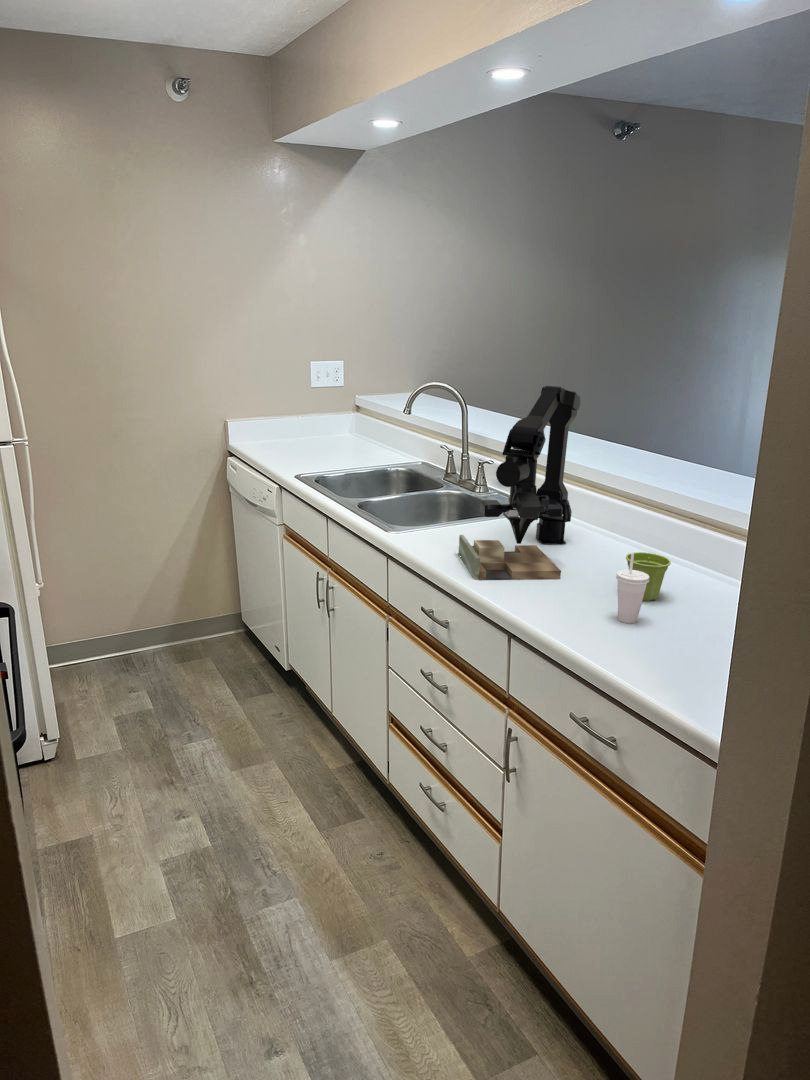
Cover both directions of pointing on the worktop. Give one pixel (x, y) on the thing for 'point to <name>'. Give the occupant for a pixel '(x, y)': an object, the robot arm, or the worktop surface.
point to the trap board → (509, 564)
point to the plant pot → (650, 571)
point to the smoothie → (630, 593)
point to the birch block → (489, 550)
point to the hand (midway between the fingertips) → (518, 543)
